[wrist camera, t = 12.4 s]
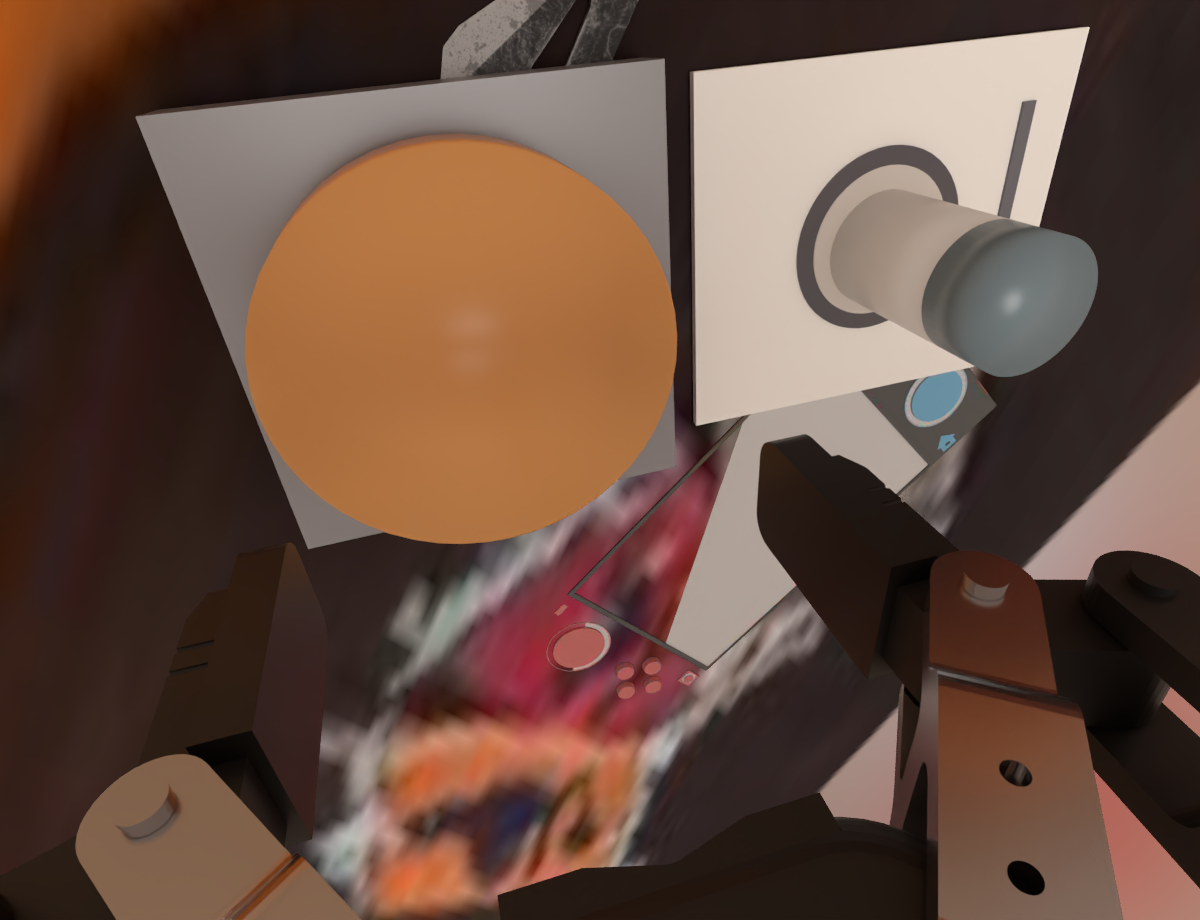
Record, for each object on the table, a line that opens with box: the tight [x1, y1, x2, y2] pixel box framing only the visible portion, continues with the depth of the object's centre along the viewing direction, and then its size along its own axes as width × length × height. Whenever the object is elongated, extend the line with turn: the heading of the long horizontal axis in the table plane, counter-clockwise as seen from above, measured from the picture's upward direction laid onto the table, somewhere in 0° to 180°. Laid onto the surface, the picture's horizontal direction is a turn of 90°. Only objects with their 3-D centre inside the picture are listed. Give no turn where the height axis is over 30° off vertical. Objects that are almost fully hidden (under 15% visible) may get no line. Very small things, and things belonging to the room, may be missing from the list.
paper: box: [690, 27, 1090, 426], centre depth 25 cm, size 12×14×1 cm
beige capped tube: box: [830, 189, 1098, 377], centre depth 22 cm, size 4×4×7 cm
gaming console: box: [546, 368, 997, 699], centre depth 31 cm, size 22×1×10 cm
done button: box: [245, 133, 677, 544], centre depth 19 cm, size 11×11×2 cm
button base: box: [136, 58, 676, 549], centre depth 21 cm, size 13×13×2 cm
